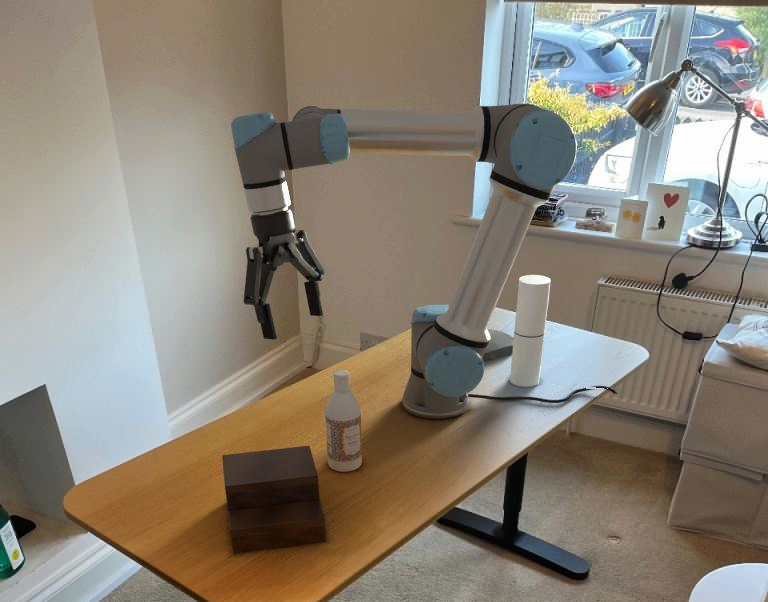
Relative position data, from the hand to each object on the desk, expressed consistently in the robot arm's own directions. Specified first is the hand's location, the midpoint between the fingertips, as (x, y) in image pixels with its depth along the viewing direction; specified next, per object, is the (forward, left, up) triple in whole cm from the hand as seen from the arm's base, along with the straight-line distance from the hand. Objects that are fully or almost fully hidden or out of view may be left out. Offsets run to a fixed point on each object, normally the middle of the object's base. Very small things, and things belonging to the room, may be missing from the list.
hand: (294, 326), depth 147 cm
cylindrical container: (-58, -21, -27) cm, 67 cm away
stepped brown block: (+8, +26, -26) cm, 38 cm away
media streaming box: (-55, -43, -27) cm, 74 cm away
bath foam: (-7, +9, -27) cm, 29 cm away
